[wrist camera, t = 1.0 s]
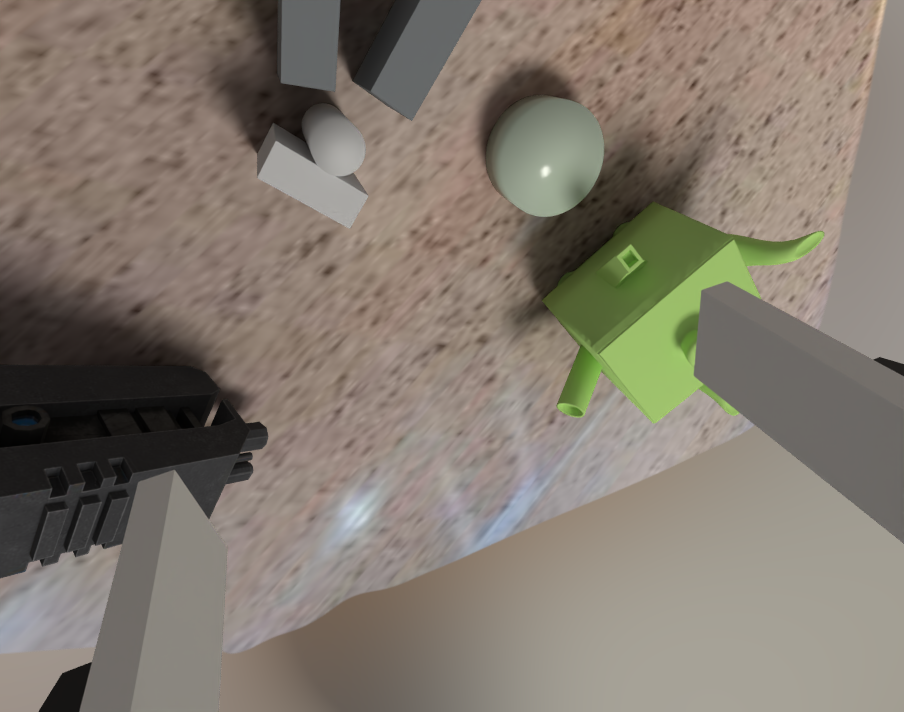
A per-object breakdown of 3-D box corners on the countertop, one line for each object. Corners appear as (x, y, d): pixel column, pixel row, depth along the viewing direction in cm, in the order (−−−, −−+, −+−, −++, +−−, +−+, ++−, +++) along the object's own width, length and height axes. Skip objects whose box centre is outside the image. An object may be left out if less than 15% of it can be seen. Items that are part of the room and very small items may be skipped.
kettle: (716, 191, 42) (845, 238, 33) (668, 349, 49) (762, 423, 40) (542, 194, 38) (634, 249, 28) (517, 367, 45) (584, 454, 36)
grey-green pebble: (464, 170, 35) (479, 180, 33) (527, 70, 33) (548, 73, 31) (539, 222, 39) (558, 235, 36) (600, 134, 37) (624, 142, 34)
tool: (-171, 293, 26) (-119, 517, 19) (206, 319, 42) (311, 446, 35) (-183, 393, 28) (-140, 630, 21) (181, 381, 44) (275, 514, 37)
